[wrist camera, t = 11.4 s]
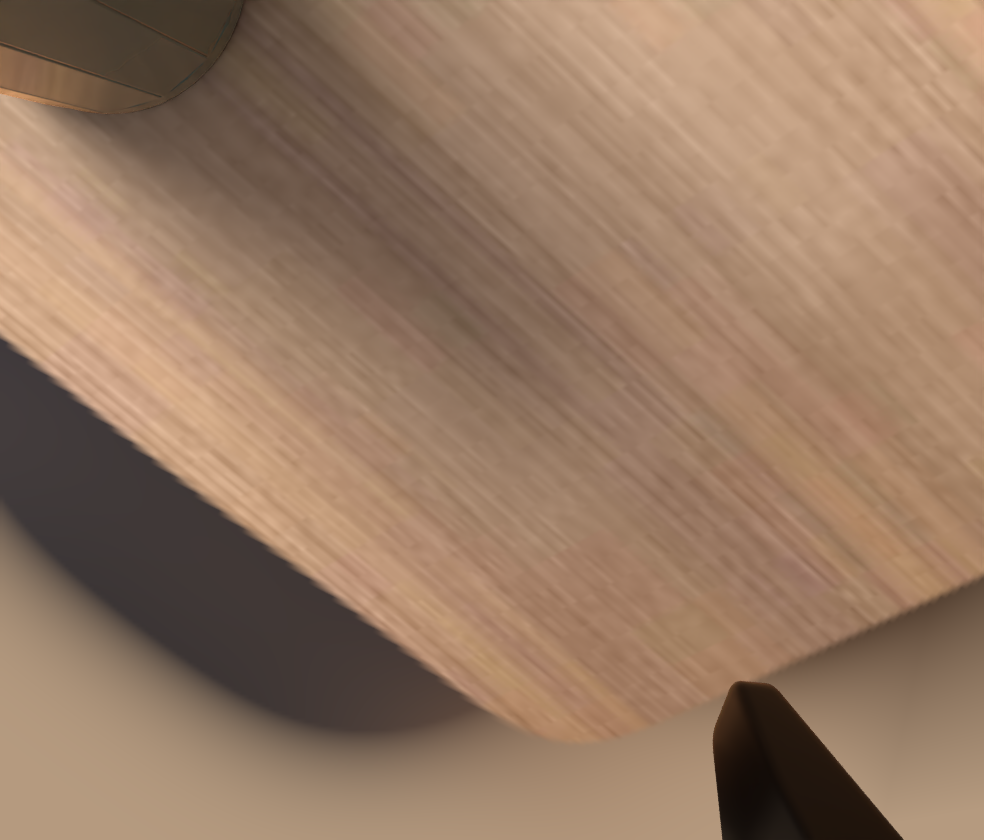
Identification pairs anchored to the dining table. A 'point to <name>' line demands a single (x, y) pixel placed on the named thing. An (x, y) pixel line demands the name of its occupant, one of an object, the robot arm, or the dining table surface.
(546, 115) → the dining table surface
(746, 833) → the robot arm
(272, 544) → the dining table surface
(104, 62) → the teal mug
